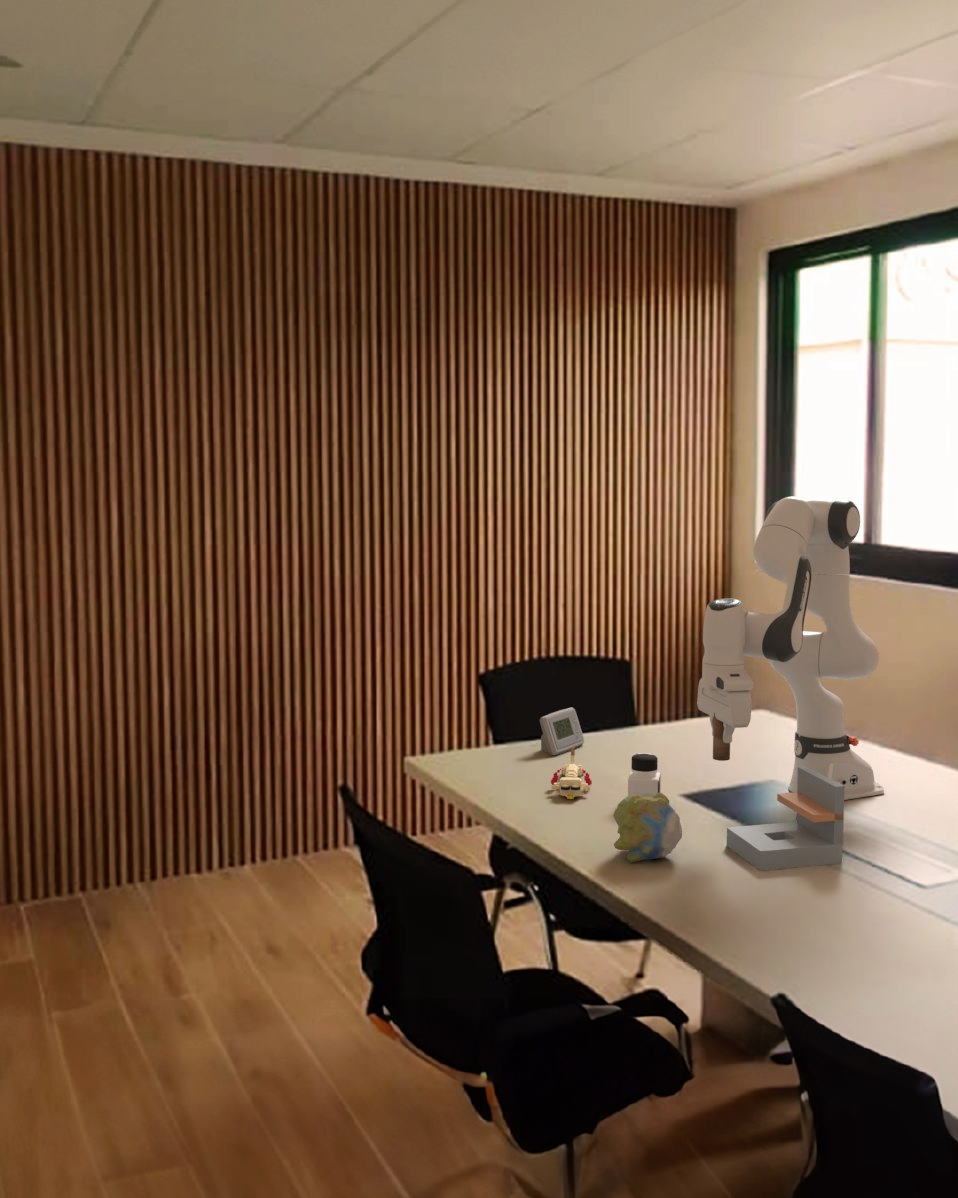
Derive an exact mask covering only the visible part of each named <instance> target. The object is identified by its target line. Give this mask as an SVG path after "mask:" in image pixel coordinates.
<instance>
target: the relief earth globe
mask: <svg viewBox="0 0 958 1198" xmlns="http://www.w3.org/2000/svg"><path fill="white" fill-rule="evenodd" d="M613 818H614V821H615V822H616V824H617V826H618V828H617V829H618V830H617V834H619V838H618V839H617V840H616V841H614V843H613V846H614V849H617V850H619V851H628V854H627V860H628V862H630V863H632V864H634V863H636V862H640V861H644V860H648V861H649V860H655V859H659V858H664V857H667V856H668V855H669V854H671V853H672V852H673V850H674V849H675V848H676V847H677V844H679V842H680V841H681V839H682V838H683V830H682V824H681V818H680V815H679V814H678V813H677V812H676V810H675V809H674V808H673V807H672V806H671V804H670V800H669V798H668V796H666V795H665V794H664V792H660V793H656V794H655V795H653V794H641V793H637V794H633V795H629V796H628V795H627V796H626V797H624V798H623V799H622V800H621V801H620V802H619V803H617V807H616V808H615V810H614V811H613Z"/></svg>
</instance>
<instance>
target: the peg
mask: <svg viewBox="0 0 958 1198" xmlns="http://www.w3.org/2000/svg"><path fill="white" fill-rule="evenodd" d="M723 732H724V727H723V722H722V721H720V720H718V719H716V717H715V713H714V720H713V736H712V759H713V760H715V761H720V762H721V761H722V762H723V761H729V760H731V743H725V742H723V741H722V734H723Z"/></svg>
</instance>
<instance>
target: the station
mask: <svg viewBox="0 0 958 1198" xmlns="http://www.w3.org/2000/svg"><path fill="white" fill-rule="evenodd" d="M844 789H845V786H843V785H841V784H839V783H837V782H836V781H834V780H832V779H830V778H828V777H826V776H824V775H822V774H820V773H818V772H816V771H814V770H813V769H811V768H809V767H807V766H804V767H798V779H797V792H781V793H777V794H776V796H777V797H776V800H777V801H776V802H778V803H781V804H782V805H784V806H785V807H787V808H789V809H790V810H793V812H795V813H796V818H795V819H796V821H790V822H777V823H764V824H752V825H740V826H732V827H731V826H729V827H726V847H728V848H729V849H730V850H732V851H733V852H734V853H735V854H736V855H738V856H739V857H741V858H742V859H743V860H745V861H746V862H748V863H749V864H751V866H753V867H755V868H756V869H757V870H759V871H773V870H780V869H794V868H802V867H803V868H805V867H815V866H823V865H826V866H827V865H836V864H843V855H844V854H843V852H844V851H843V849H844V848H843V847H844V846H843V845H844V821H845V820H844V816H845V800H844Z"/></svg>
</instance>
